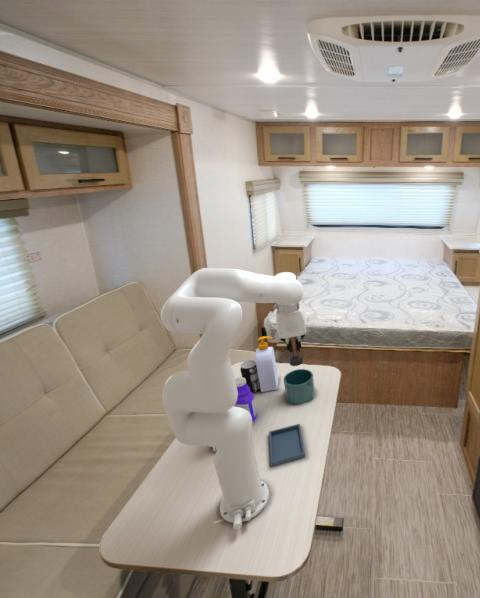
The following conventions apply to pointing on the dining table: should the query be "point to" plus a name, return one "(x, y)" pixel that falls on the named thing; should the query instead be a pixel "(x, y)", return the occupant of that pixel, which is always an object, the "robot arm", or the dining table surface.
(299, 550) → the dining table surface
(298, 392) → the canister
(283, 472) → the dining table surface
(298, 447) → the dish
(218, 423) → the robot arm
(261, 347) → the soap bottle
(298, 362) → the scrub brush
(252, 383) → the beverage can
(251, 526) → the dining table surface
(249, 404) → the bottle
